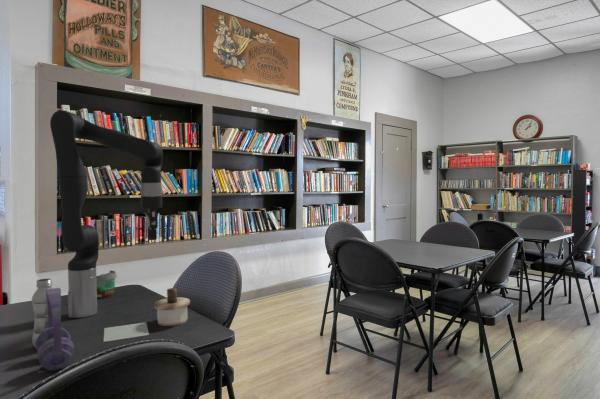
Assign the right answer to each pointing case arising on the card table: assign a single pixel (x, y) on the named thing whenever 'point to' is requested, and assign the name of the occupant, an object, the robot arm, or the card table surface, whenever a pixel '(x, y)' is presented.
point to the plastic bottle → (40, 308)
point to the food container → (106, 284)
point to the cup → (172, 316)
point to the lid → (171, 301)
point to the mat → (125, 331)
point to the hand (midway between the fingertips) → (152, 238)
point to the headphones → (54, 336)
